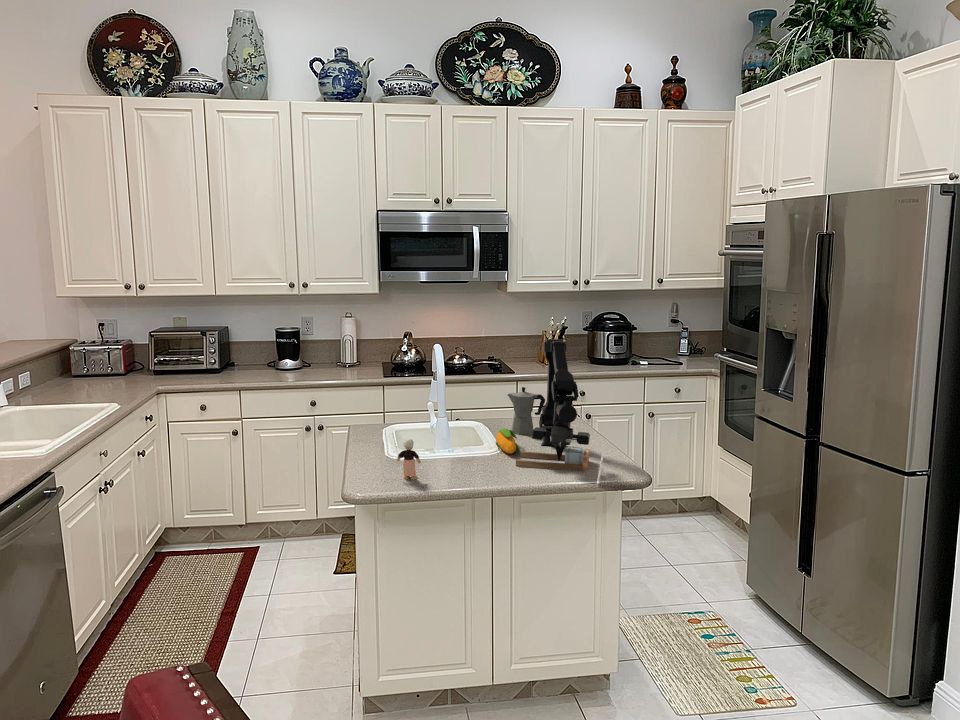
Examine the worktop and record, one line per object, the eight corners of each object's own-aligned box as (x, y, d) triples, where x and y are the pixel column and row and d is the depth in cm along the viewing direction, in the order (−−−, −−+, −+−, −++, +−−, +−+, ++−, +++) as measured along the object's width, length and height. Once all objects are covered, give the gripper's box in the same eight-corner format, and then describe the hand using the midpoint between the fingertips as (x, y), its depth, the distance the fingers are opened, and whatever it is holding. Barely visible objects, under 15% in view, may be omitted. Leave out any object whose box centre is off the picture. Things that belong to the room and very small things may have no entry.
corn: (512, 423, 264) (523, 438, 244) (513, 443, 265) (524, 459, 246) (492, 425, 263) (502, 440, 243) (493, 445, 264) (503, 461, 245)
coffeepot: (503, 433, 280) (503, 388, 277) (510, 427, 289) (511, 383, 286) (541, 437, 275) (542, 391, 272) (547, 431, 284) (548, 386, 281)
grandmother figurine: (421, 476, 227) (421, 437, 225) (420, 480, 223) (420, 440, 221) (396, 476, 227) (396, 437, 225) (395, 480, 223) (395, 440, 221)
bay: (521, 458, 247) (521, 444, 246) (588, 463, 242) (589, 449, 242) (515, 468, 236) (515, 453, 235) (586, 473, 231) (586, 458, 231)
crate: (566, 461, 241) (566, 447, 240) (584, 463, 240) (584, 448, 239) (564, 467, 235) (565, 452, 234) (583, 468, 234) (583, 453, 233)
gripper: (530, 418, 230) (527, 464, 233) (589, 424, 226) (585, 471, 229) (535, 410, 241) (532, 455, 243) (591, 416, 237) (588, 461, 240)
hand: (559, 460), depth 239 cm, fingers closed
